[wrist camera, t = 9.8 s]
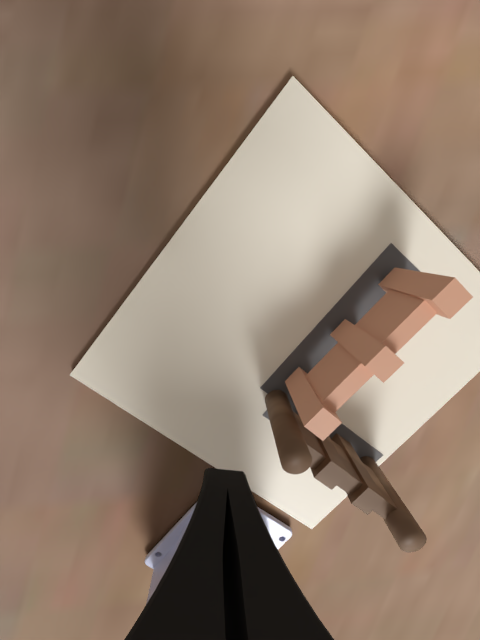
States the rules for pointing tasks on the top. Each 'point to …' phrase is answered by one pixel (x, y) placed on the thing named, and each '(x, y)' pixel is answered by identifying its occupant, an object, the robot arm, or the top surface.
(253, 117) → the top surface
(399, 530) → the fixed fence section
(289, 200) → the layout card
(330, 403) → the folding fence panel
